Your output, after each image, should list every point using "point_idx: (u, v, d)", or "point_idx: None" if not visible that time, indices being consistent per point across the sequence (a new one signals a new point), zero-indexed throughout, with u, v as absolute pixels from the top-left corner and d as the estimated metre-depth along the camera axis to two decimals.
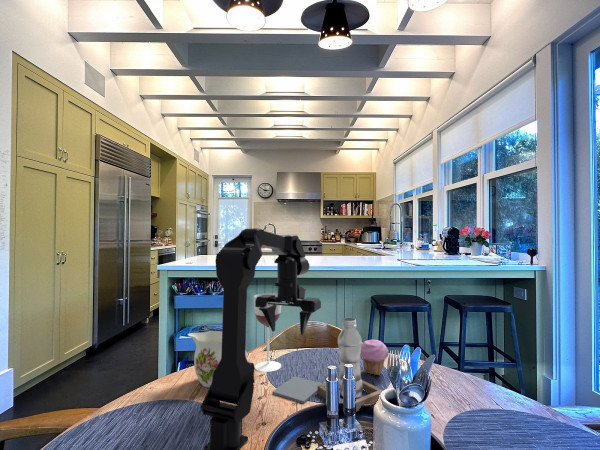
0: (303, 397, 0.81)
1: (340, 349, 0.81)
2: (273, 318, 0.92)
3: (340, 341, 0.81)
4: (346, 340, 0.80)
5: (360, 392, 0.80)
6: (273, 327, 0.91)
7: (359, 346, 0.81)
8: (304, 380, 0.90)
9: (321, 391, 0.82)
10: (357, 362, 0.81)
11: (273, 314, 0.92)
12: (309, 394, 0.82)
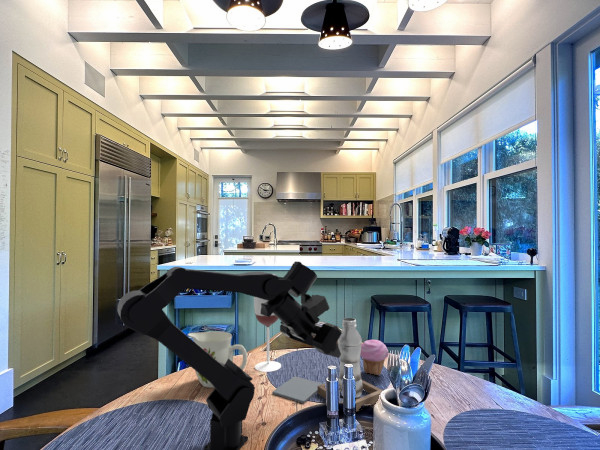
0: (303, 397, 0.81)
1: (340, 349, 0.81)
2: (308, 336, 0.81)
3: (340, 341, 0.81)
4: (347, 340, 0.80)
5: (360, 392, 0.80)
6: (313, 344, 0.81)
7: (359, 346, 0.81)
8: (304, 380, 0.90)
9: (321, 391, 0.82)
10: (357, 362, 0.81)
11: None
12: (309, 394, 0.82)
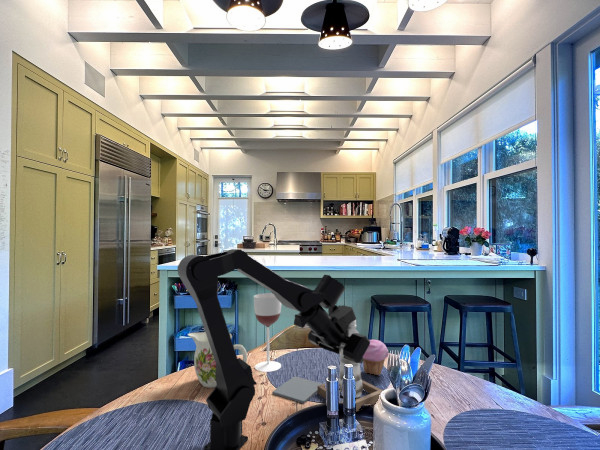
0: (303, 397, 0.81)
1: (340, 349, 0.81)
2: None
3: None
4: None
5: (360, 392, 0.80)
6: None
7: None
8: (304, 380, 0.90)
9: (321, 391, 0.82)
10: None
11: None
12: (309, 394, 0.82)
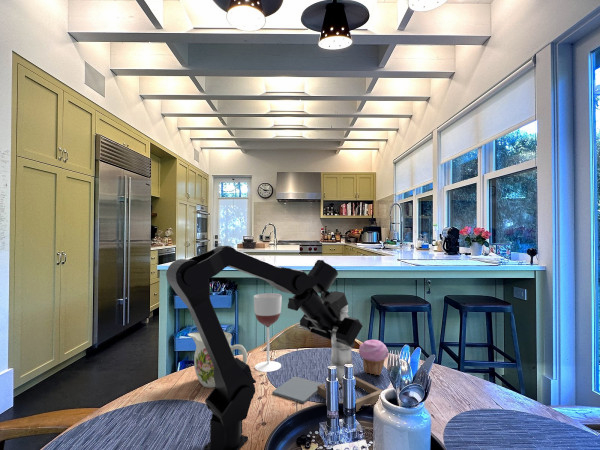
0: (303, 397, 0.81)
1: (332, 334, 0.82)
2: (329, 332, 0.86)
3: None
4: None
5: None
6: None
7: None
8: (304, 380, 0.90)
9: (321, 391, 0.82)
10: None
11: None
12: (309, 394, 0.82)
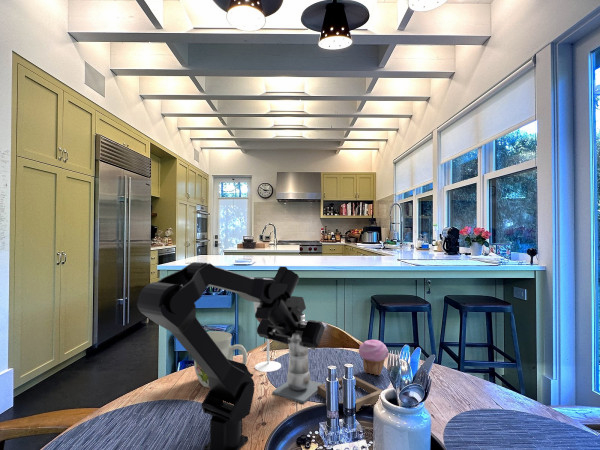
0: (303, 397, 0.81)
1: (291, 344, 0.84)
2: None
3: (292, 336, 0.84)
4: (298, 335, 0.84)
5: (309, 382, 0.85)
6: (286, 342, 0.89)
7: None
8: None
9: (321, 391, 0.82)
10: (307, 354, 0.85)
11: None
12: (309, 394, 0.82)
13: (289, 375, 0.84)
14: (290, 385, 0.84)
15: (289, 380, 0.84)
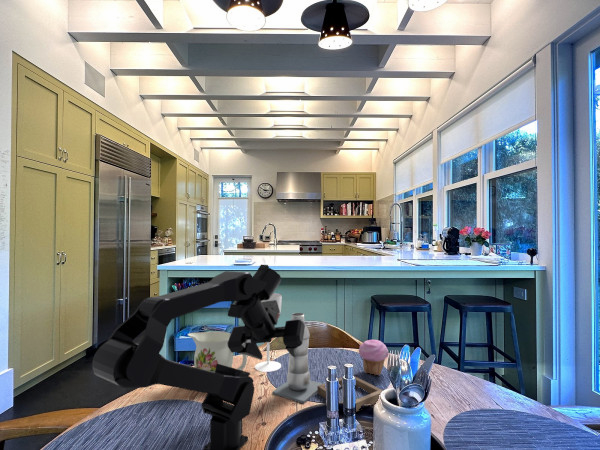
0: (303, 397, 0.81)
1: None
2: (256, 348, 0.79)
3: None
4: None
5: (309, 382, 0.85)
6: (260, 356, 0.79)
7: (308, 338, 0.86)
8: None
9: (321, 391, 0.82)
10: (306, 354, 0.85)
11: (254, 345, 0.78)
12: (309, 394, 0.82)
13: (289, 375, 0.84)
14: (290, 385, 0.84)
15: (289, 380, 0.84)
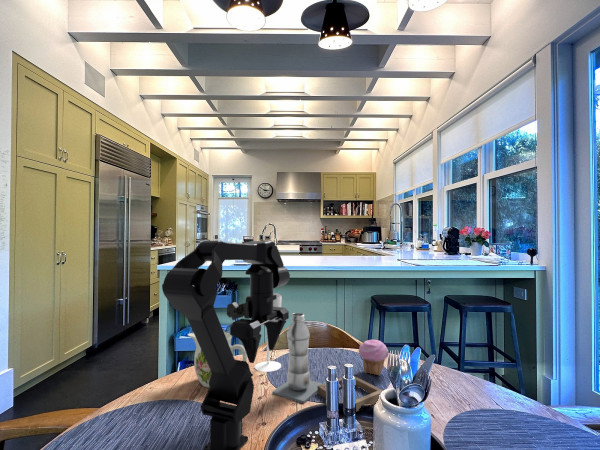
0: (303, 397, 0.81)
1: (291, 344, 0.84)
2: None
3: (291, 336, 0.84)
4: (298, 334, 0.84)
5: (309, 382, 0.85)
6: None
7: (308, 338, 0.86)
8: None
9: (321, 391, 0.82)
10: (306, 354, 0.85)
11: None
12: (309, 394, 0.82)
13: (289, 375, 0.84)
14: (290, 385, 0.84)
15: (289, 380, 0.84)
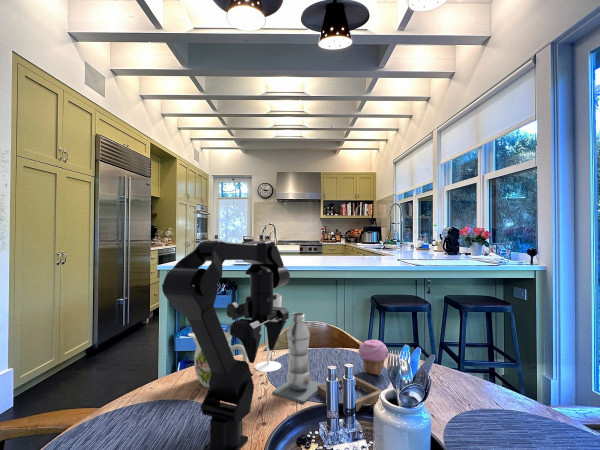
0: (303, 397, 0.81)
1: (291, 344, 0.84)
2: None
3: (291, 336, 0.84)
4: (298, 334, 0.84)
5: (309, 382, 0.85)
6: None
7: (308, 338, 0.86)
8: None
9: (321, 391, 0.82)
10: (306, 354, 0.85)
11: None
12: (309, 394, 0.82)
13: (289, 375, 0.84)
14: (290, 385, 0.84)
15: (289, 380, 0.84)
